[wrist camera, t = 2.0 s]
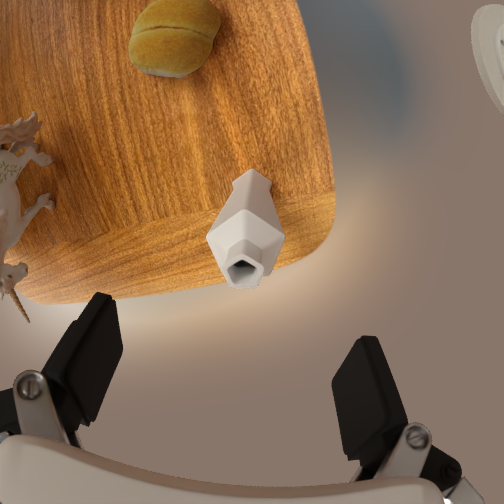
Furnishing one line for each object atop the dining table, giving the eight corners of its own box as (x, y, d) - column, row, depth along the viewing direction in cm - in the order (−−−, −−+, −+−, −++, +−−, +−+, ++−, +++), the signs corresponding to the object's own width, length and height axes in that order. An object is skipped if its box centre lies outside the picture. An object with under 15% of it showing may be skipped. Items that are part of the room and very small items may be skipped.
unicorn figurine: (51, 258, 32) (-4, 318, 21) (15, 125, 23) (-63, 153, 11) (87, 255, 32) (29, 323, 20) (50, 106, 23) (-38, 126, 11)
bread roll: (230, 3, 18) (226, -12, 15) (203, 83, 23) (194, 79, 19) (151, -4, 17) (136, -16, 14) (126, 73, 22) (106, 70, 18)
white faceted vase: (282, 202, 28) (299, 295, 15) (240, 215, 29) (223, 314, 16) (268, 159, 26) (275, 219, 13) (224, 173, 27) (188, 246, 14)
